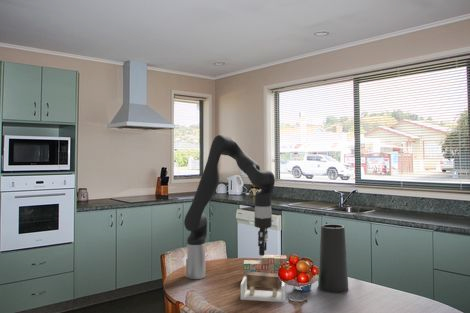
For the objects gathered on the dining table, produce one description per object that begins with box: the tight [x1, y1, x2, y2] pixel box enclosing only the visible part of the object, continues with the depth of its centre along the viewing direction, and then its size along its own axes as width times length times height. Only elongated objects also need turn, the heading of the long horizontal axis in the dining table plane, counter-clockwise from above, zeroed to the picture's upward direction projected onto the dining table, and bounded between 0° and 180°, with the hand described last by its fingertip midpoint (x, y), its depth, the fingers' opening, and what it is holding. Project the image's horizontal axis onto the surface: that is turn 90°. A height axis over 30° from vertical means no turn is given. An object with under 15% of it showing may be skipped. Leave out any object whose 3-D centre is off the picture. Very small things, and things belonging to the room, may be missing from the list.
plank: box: [247, 272, 281, 290], centre depth 167 cm, size 14×4×5 cm, turn 74°
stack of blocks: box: [243, 254, 288, 284], centre depth 188 cm, size 21×6×12 cm, turn 85°
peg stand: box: [239, 276, 287, 303], centre depth 166 cm, size 19×10×7 cm, turn 80°
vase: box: [317, 223, 349, 294], centre depth 177 cm, size 14×14×29 cm
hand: (262, 252), depth 166 cm, fingers open, 8 cm apart
